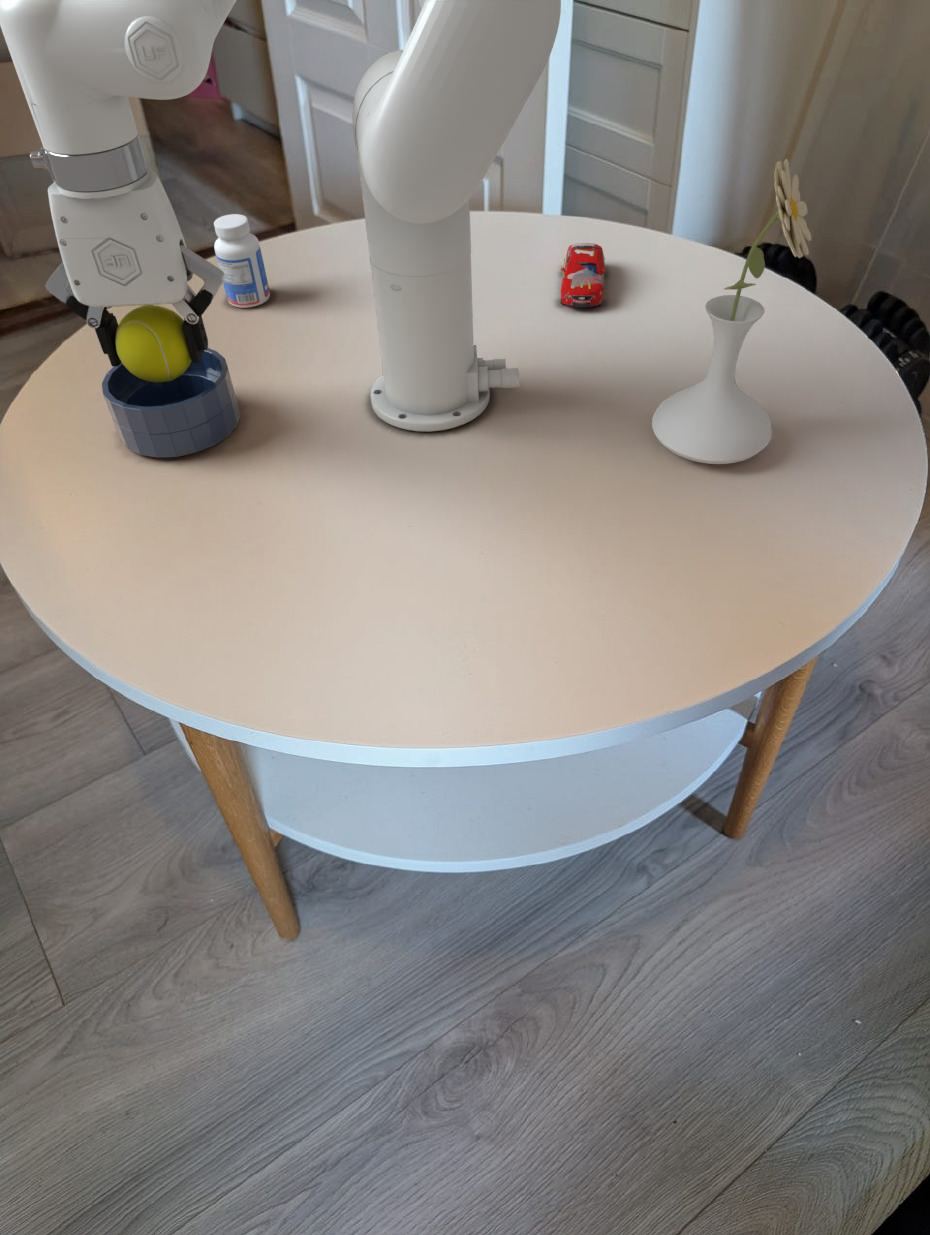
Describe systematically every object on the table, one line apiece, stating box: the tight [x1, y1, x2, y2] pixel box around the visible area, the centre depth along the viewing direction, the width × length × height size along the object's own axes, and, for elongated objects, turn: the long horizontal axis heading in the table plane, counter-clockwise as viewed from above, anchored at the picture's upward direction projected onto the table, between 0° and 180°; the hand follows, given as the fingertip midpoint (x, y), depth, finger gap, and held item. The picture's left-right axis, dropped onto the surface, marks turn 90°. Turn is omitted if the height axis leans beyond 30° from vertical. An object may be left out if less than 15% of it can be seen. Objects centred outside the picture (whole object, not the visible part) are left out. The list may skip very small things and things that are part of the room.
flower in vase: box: [651, 158, 812, 465], centre depth 77 cm, size 13×11×25 cm
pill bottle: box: [213, 213, 271, 309], centre depth 107 cm, size 6×5×10 cm
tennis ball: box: [115, 305, 191, 382], centre depth 84 cm, size 7×7×7 cm
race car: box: [560, 242, 607, 308], centre depth 108 cm, size 13×5×4 cm, turn 171°
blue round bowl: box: [101, 347, 241, 459], centre depth 89 cm, size 12×12×6 cm
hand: (159, 356), depth 85 cm, fingers closed on tennis ball, 7 cm apart
